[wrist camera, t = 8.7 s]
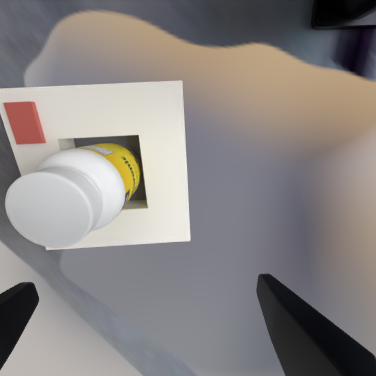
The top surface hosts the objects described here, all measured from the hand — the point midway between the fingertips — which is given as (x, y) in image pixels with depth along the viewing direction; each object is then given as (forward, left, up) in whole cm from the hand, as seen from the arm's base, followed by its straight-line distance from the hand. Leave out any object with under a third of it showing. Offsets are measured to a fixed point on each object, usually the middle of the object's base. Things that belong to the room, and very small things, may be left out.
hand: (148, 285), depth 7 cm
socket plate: (+5, -2, -12) cm, 13 cm away
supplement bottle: (+5, -2, -12) cm, 13 cm away
